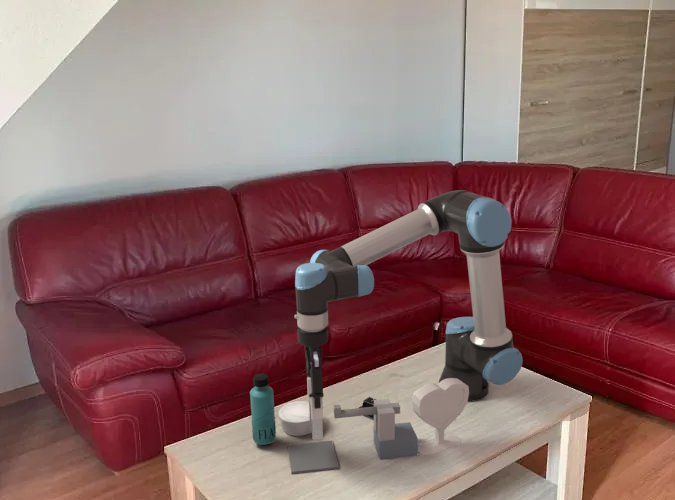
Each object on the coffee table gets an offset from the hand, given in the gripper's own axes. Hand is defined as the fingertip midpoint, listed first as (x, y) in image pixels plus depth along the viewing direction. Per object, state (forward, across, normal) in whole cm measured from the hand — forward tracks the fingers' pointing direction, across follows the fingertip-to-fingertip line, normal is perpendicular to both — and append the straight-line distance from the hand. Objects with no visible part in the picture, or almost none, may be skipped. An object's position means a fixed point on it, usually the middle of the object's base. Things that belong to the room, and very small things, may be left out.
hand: (315, 408), depth 170 cm
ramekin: (+15, -15, -3) cm, 21 cm away
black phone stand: (+15, -19, +18) cm, 30 cm away
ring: (+6, 0, 0) cm, 6 cm away
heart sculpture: (+14, 0, +33) cm, 36 cm away
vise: (+14, 0, +15) cm, 21 cm away
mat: (+14, 0, -1) cm, 14 cm away
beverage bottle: (+14, -9, -13) cm, 22 cm away
